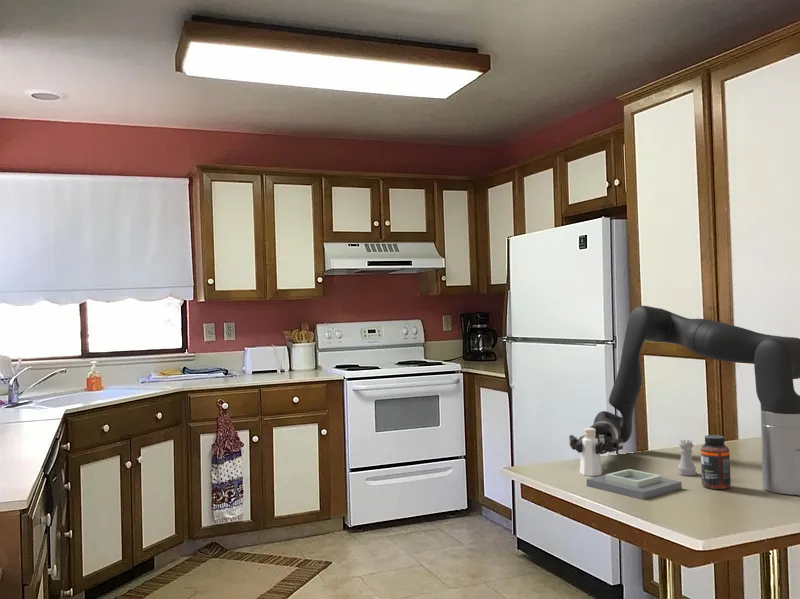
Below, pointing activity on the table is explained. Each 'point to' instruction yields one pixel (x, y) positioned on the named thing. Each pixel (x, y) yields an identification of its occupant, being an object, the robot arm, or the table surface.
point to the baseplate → (634, 483)
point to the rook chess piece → (686, 459)
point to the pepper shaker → (590, 455)
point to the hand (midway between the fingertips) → (588, 449)
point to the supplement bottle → (715, 463)
